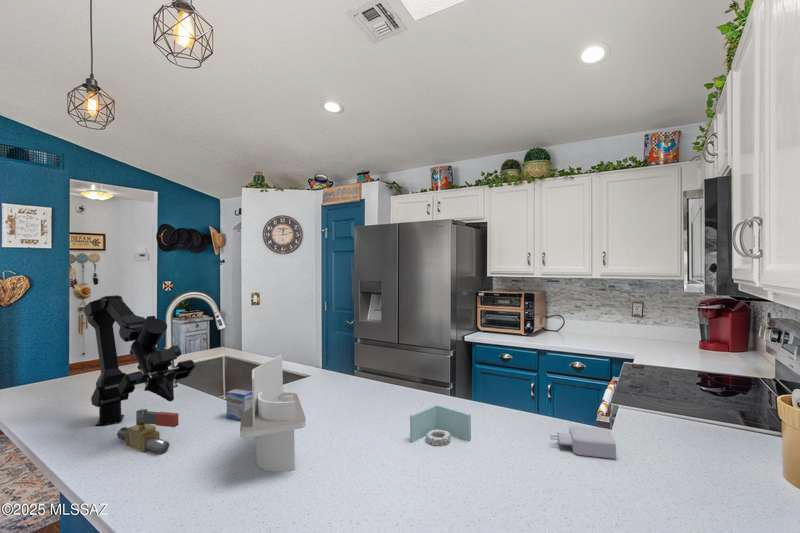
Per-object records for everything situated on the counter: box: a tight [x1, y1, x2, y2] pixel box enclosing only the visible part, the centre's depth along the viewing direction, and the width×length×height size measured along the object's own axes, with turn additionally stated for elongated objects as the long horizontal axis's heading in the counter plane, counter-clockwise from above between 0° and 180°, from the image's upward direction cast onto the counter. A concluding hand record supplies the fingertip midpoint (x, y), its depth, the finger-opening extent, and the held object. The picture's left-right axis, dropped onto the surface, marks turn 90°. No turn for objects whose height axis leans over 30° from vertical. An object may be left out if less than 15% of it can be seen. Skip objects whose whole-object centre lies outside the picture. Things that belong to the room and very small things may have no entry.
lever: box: [135, 408, 180, 428], centre depth 108 cm, size 3×13×4 cm, turn 76°
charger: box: [549, 425, 617, 460], centre depth 104 cm, size 5×9×15 cm
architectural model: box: [239, 354, 307, 473], centre depth 103 cm, size 28×21×23 cm
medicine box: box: [226, 388, 253, 422], centre depth 129 cm, size 8×4×9 cm, turn 68°
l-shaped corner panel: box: [409, 403, 472, 447], centre depth 110 cm, size 12×12×8 cm
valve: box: [116, 424, 170, 455], centre depth 110 cm, size 20×4×6 cm, turn 61°
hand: (171, 400), depth 108 cm, fingers closed
